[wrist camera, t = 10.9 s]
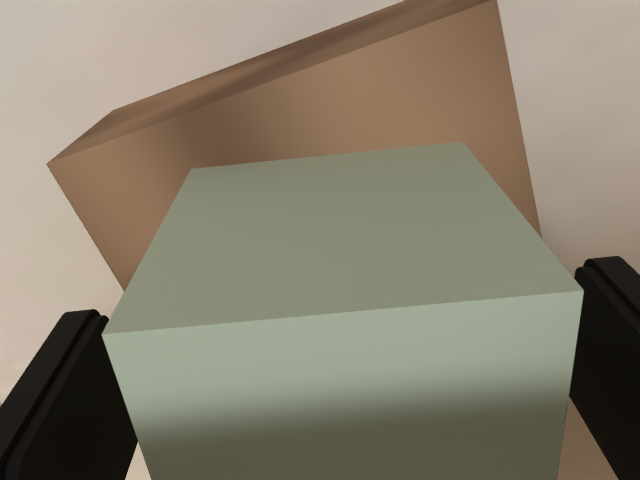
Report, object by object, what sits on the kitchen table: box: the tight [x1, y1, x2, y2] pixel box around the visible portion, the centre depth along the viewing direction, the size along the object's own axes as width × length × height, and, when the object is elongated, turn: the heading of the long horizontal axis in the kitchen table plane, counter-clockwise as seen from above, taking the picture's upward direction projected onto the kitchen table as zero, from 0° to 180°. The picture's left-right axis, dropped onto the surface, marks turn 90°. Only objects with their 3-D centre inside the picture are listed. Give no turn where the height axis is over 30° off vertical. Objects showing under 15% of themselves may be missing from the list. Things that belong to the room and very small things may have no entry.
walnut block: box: [46, 0, 542, 292], centre depth 16 cm, size 10×10×5 cm
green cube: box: [101, 142, 584, 480], centre depth 11 cm, size 6×6×6 cm
